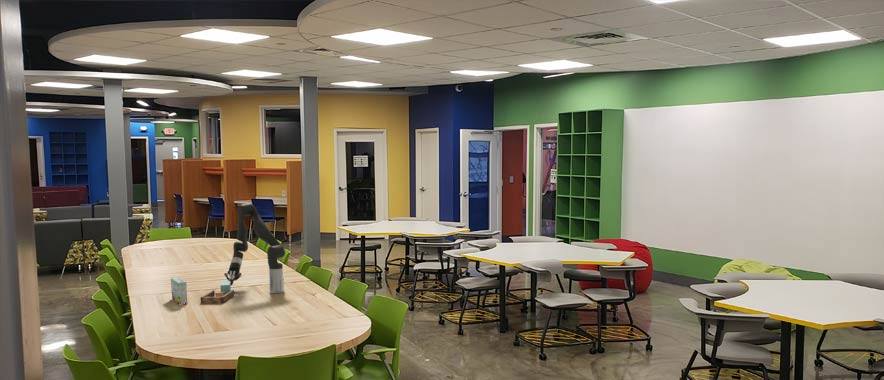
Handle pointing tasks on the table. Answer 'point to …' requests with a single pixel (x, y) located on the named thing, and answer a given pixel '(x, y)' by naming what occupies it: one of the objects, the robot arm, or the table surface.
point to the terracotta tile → (220, 293)
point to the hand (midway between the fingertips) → (230, 284)
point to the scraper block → (226, 286)
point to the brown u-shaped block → (211, 299)
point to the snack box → (179, 290)
